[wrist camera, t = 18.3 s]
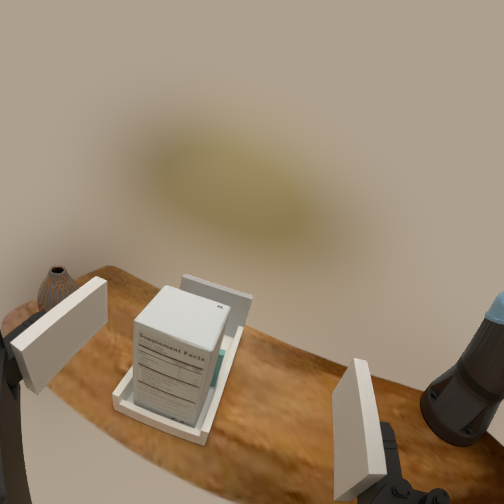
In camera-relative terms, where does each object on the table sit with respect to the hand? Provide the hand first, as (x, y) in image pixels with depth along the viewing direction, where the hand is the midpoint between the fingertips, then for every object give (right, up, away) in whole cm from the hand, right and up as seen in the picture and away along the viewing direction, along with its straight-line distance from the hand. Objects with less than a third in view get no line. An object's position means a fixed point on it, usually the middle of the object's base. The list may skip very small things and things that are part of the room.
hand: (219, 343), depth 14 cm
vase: (-26, -6, +21) cm, 34 cm away
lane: (-7, -11, +22) cm, 25 cm away
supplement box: (-8, -12, +16) cm, 22 cm away
